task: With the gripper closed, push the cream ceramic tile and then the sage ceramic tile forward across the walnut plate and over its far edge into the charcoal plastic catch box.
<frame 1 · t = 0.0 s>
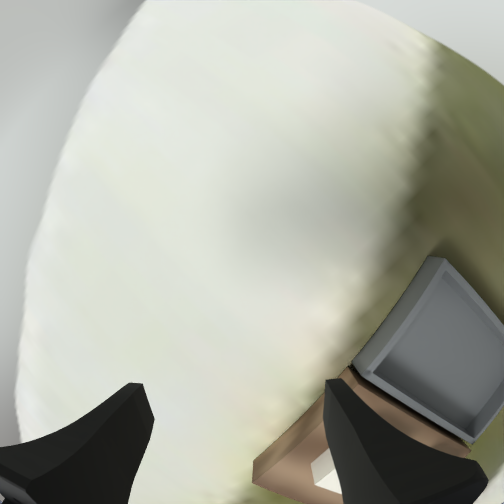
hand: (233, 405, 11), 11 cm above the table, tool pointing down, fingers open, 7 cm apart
walnut plate: (369, 455, 22), on the table
catch box: (453, 361, 21), on the table
cream tile: (355, 454, 18), point 3 cm above the table, touching walnut plate
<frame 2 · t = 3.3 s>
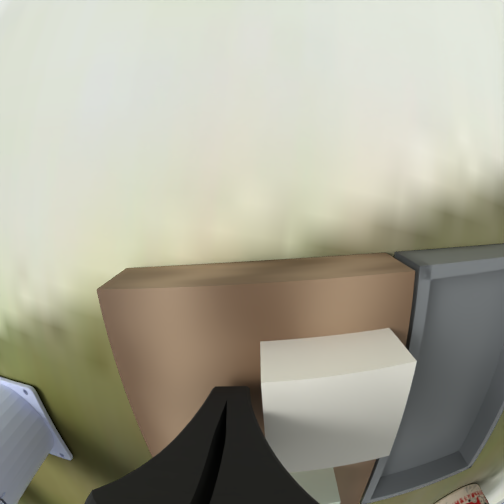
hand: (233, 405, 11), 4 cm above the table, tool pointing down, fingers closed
sage tile: (285, 492, 13), point 3 cm above the table, touching walnut plate
walnut plate: (264, 415, 15), on the table
catch box: (444, 385, 15), on the table
cream tile: (325, 387, 11), point 3 cm above the table, touching walnut plate
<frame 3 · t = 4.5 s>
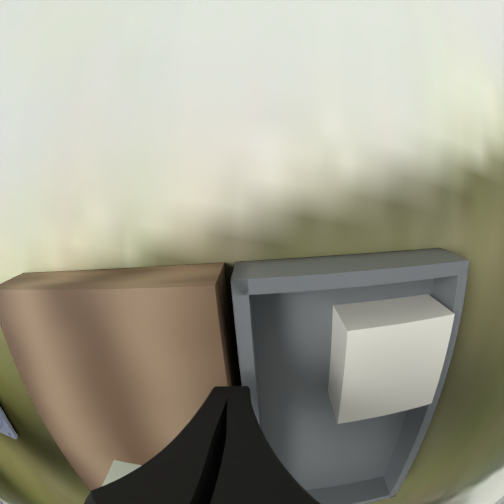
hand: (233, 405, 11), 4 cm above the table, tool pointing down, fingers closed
sage tile: (163, 488, 13), point 3 cm above the table, touching walnut plate
walnut plate: (142, 412, 15), on the table
catch box: (338, 408, 15), on the table
cream tile: (397, 374, 11), point 3 cm above the table, tilted 180°, touching catch box
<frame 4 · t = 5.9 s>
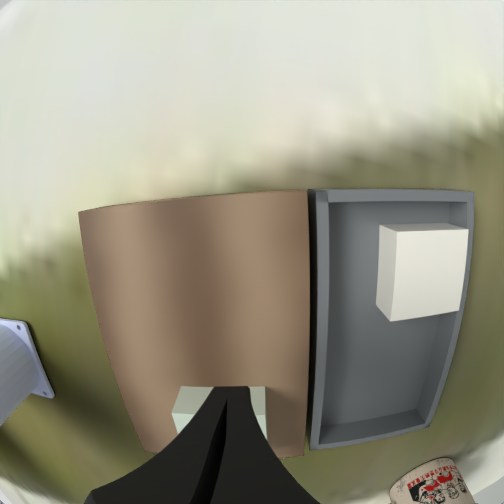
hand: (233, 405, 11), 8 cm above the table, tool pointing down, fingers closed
sage tile: (226, 416, 17), point 3 cm above the table, touching walnut plate
walnut plate: (209, 338, 19), on the table
catch box: (382, 325, 18), on the table
cream tile: (432, 275, 15), point 3 cm above the table, tilted 180°, touching catch box
teacup with lid: (410, 481, 24), on the table
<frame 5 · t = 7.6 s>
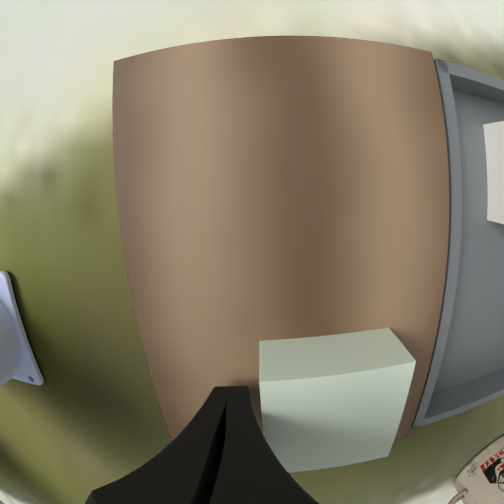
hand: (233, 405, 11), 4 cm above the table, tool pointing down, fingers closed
sage tile: (324, 387, 11), point 3 cm above the table, touching gripper
walnut plate: (289, 269, 13), on the table
catch box: (489, 252, 13), on the table
teacup with lid: (475, 464, 18), on the table
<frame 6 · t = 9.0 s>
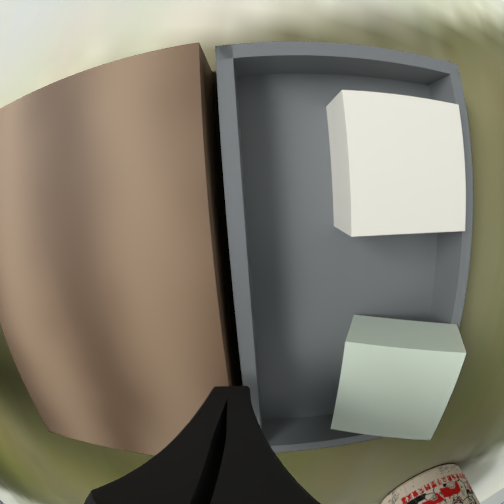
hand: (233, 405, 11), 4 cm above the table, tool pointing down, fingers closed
sage tile: (394, 398, 10), point 4 cm above the table, tilted 156°, touching catch box
walnut plate: (105, 278, 13), on the table
catch box: (349, 265, 13), on the table
cream tile: (413, 163, 9), point 3 cm above the table, tilted 180°, touching catch box
teacup with lid: (406, 492, 18), on the table
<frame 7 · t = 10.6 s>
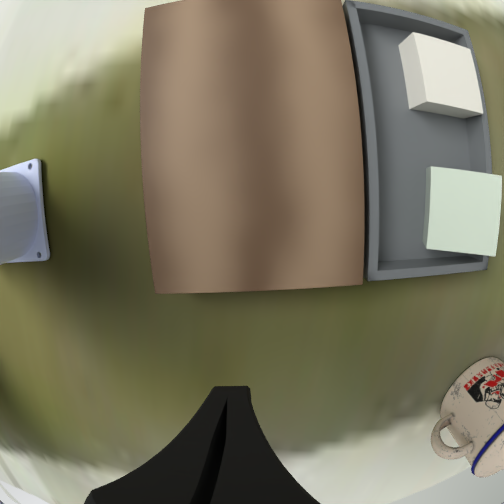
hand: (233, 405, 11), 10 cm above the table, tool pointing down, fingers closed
sage tile: (466, 212, 15), point 4 cm above the table, tilted 156°, touching catch box
walnut plate: (251, 133, 18), on the table
catch box: (418, 137, 17), on the table
cream tile: (451, 72, 13), point 3 cm above the table, tilted 180°, touching catch box
teacup with lid: (461, 393, 22), on the table
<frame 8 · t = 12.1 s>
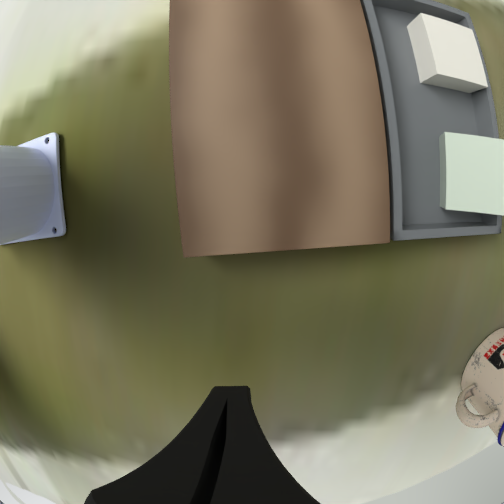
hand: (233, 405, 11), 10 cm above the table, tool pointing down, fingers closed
sage tile: (480, 173, 14), point 4 cm above the table, tilted 156°, touching catch box
walnut plate: (275, 102, 18), on the table
catch box: (430, 109, 17), on the table
cream tile: (456, 49, 13), point 3 cm above the table, tilted 180°, touching catch box
teacup with lid: (479, 365, 22), on the table
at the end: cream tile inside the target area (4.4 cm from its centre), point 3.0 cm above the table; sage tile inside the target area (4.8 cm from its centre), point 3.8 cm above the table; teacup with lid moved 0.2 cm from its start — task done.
